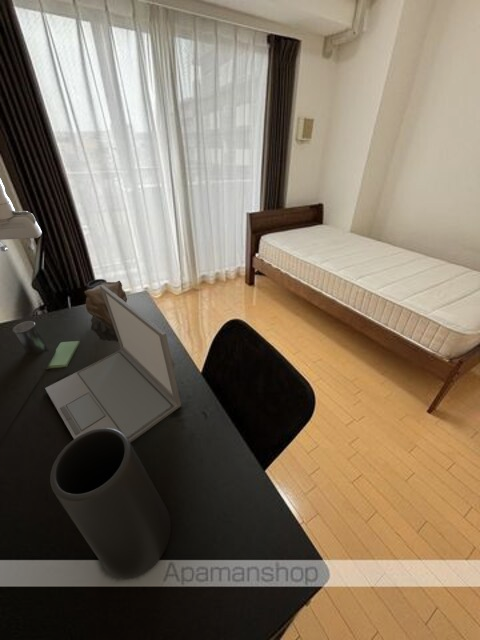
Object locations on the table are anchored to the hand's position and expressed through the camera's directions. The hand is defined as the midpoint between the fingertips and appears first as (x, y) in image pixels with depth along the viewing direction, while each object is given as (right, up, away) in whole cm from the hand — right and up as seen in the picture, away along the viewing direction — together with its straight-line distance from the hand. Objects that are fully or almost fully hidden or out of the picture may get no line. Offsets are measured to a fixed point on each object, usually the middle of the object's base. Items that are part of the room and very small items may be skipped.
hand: (18, 250), depth 106 cm
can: (+10, -38, -3) cm, 40 cm away
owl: (+35, -32, +5) cm, 48 cm away
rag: (+20, -39, -4) cm, 44 cm away
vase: (+62, -70, -48) cm, 105 cm away
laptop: (+44, -50, -20) cm, 70 cm away
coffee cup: (+26, -24, +17) cm, 39 cm away
